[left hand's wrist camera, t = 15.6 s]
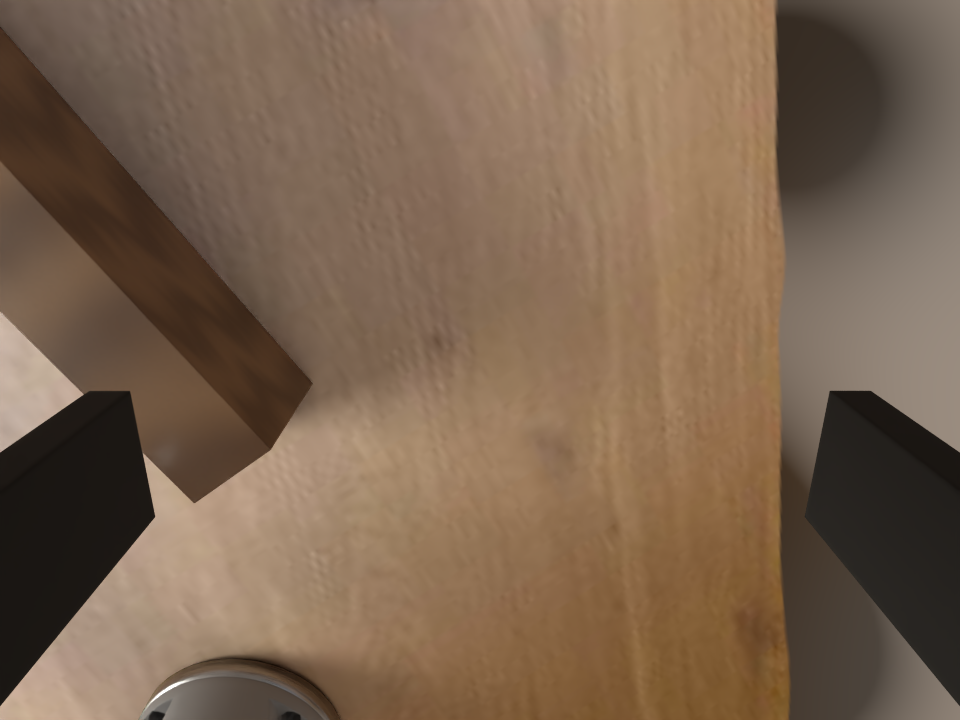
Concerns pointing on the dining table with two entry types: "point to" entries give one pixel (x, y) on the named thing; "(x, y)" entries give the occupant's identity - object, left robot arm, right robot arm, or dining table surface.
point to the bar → (129, 295)
